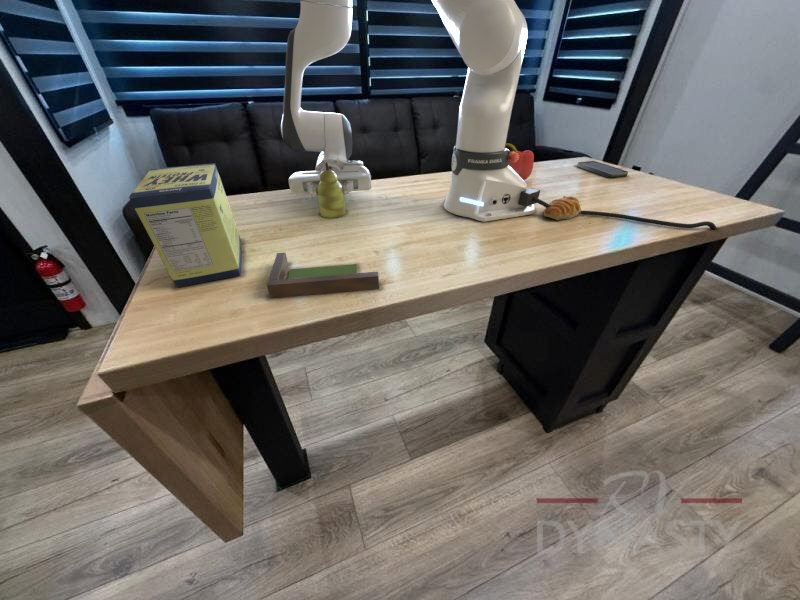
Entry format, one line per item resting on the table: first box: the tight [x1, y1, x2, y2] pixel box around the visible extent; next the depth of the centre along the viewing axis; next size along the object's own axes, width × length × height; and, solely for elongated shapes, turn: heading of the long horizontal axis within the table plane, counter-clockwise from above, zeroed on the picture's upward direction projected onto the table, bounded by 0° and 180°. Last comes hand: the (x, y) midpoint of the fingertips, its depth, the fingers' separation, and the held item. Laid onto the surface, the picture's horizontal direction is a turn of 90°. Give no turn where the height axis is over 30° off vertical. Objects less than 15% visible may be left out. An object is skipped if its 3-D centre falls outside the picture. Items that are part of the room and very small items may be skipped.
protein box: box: [128, 162, 242, 288], centre depth 56 cm, size 10×16×16 cm
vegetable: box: [505, 142, 535, 181], centre depth 97 cm, size 11×10×10 cm
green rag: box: [286, 264, 358, 279], centre depth 56 cm, size 12×7×1 cm, turn 99°
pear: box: [317, 162, 347, 219], centre depth 75 cm, size 6×6×12 cm
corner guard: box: [266, 252, 380, 299], centre depth 55 cm, size 18×10×2 cm, turn 99°
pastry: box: [543, 195, 582, 221], centre depth 77 cm, size 9×7×4 cm
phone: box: [576, 160, 629, 179], centre depth 107 cm, size 8×1×15 cm
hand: (330, 191), depth 75 cm, fingers closed on pear, 6 cm apart
